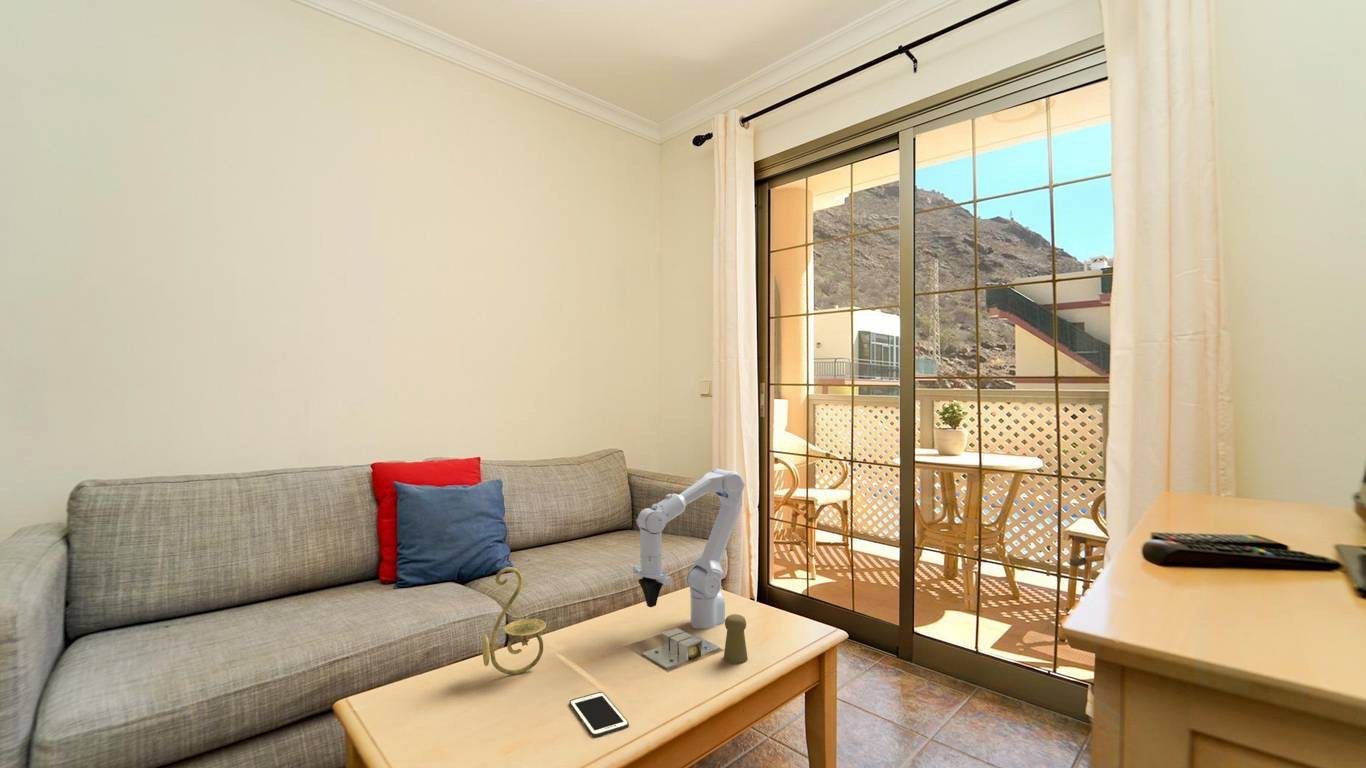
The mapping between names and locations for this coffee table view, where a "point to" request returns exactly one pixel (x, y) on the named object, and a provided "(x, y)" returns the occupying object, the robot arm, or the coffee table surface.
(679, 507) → the robot arm
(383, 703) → the coffee table surface
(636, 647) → the board
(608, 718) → the cell phone
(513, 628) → the wall sconce
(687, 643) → the hinge leaves
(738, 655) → the olive green pawn
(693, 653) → the pin
